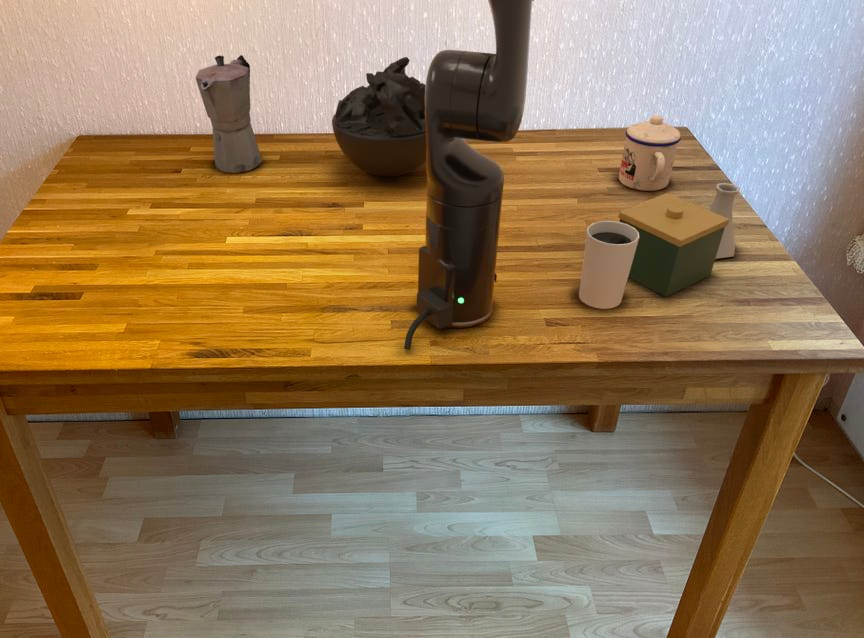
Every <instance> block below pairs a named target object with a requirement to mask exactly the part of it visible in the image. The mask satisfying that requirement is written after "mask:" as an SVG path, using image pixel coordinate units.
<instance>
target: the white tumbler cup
mask: <svg viewBox="0 0 864 638" xmlns="http://www.w3.org/2000/svg"><path fill="white" fill-rule="evenodd" d="M638 240H639V232H638V231H637V230H636V229H635V228H633V227H631V226H629V225H627V224H624V223H621V222H620V221H614V220H600V221H596V222H592V223H591V224H590V225H589V226H588V227H587V228H586V236H585V244H584V251H583V252H584V253H583V260H582V267H581V273H580V274H581V275H580V284H579V290H578V291H579V292H578V298H579V299H580V301H581V302H582V303H583V304H585V305H587V306H588V307H592V308H595V309H602V310H605V309H606V310H607V309H614V308H616V307H618V306H619V305H620V304H621V303H622V300H623V297H624V293H625V289H626V286H627V282H628V279H629V277H628V276H629V272H630V269H631V265H632V261H633V258H634V254H635V251H636V247H637V244H638Z"/></svg>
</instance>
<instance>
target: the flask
mask: <svg viewBox="0 0 864 638" xmlns="http://www.w3.org/2000/svg"><path fill="white" fill-rule="evenodd" d="M715 191H716V194H715V197H714V199H713V201H712V203H711V205H710V207H709V208H708V210H709V211H712V212H714V213H716V214H719V215H721V216H723V217H726V218H728V219H729V223H728V225H727V226H725V229H724V232H723V235H722V239H721V242H720V245H719V248H718V252H717V255H716V258H715V260H717V259H724V258H725V259H726V258H731V257H734V256H735V251H736V250H735V249H736V243H735V242H736V241H735V232H734V223H733V222H734V219H733V209H734V201H735V198H736V196H738V194H739V193H740V187H739V186H737V185H736V184H735V183H729V182H720V183H716V187H715Z"/></svg>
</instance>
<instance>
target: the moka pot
mask: <svg viewBox="0 0 864 638" xmlns="http://www.w3.org/2000/svg"><path fill="white" fill-rule="evenodd" d="M214 59H215V63H216V64H213V65H210V66H207V67H204V68H200V69H199V70H198V72H197V73H196V75H195V81H196V84H197V87H198V90H199V94H200V97H201V100H202V102H203V106H204V109H205V112H206V115H207V118H209V119H210V124H211V126H212V141H213V152H214V153H213V154H214V164H215V167H216V169H217V170H219V171H220V172H224V173H229V174H240V173H246V172H248V171H251V170H254V169H256V168H258V166H260V165H261V164H262V161H263V158H262V155H261V152H260V148H259V146H258V142H257V139H256V135H255V133H254V129H253V126H252V123H251V121H252V119H251V114H250V113H251V86H250V85H251V65H250V63H249V62H248V61H247V60H246V59H245V57H244V55H242V54H240V55H239V56H238V57H237V59H232V60H231V61H230V62H229V63H225V57H224V55H217V56H215V57H214Z"/></svg>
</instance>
